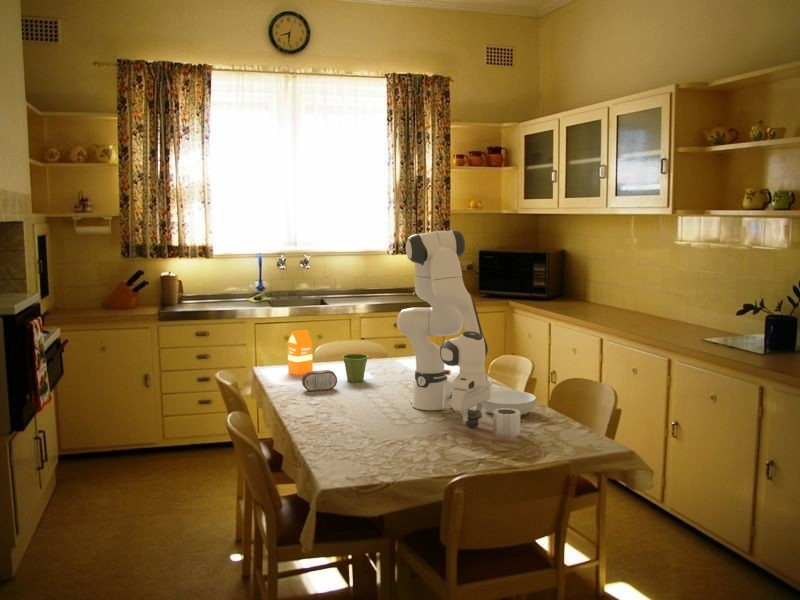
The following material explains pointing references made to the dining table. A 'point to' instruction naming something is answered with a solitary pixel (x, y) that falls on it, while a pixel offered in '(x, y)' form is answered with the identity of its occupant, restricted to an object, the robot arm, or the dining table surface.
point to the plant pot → (355, 366)
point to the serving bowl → (510, 401)
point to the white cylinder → (506, 423)
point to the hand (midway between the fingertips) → (472, 417)
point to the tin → (319, 380)
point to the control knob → (473, 418)
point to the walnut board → (484, 432)
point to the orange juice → (300, 352)
